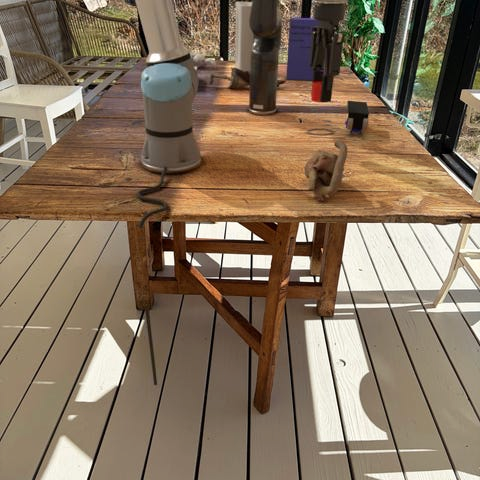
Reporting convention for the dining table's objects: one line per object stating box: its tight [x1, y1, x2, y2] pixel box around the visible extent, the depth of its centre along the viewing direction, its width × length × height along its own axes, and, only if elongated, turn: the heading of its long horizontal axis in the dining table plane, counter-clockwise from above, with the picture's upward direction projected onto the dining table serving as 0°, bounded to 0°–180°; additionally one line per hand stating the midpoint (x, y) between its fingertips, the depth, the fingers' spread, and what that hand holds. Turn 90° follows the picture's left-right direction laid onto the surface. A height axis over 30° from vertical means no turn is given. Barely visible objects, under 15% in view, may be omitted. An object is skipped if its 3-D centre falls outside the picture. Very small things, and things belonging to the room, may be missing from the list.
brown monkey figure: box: [303, 139, 349, 202], centre depth 108 cm, size 13×9×15 cm
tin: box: [310, 81, 322, 103], centre depth 126 cm, size 5×5×4 cm
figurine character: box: [344, 100, 370, 136], centre depth 146 cm, size 7×8×15 cm
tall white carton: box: [234, 1, 253, 72], centre depth 210 cm, size 19×15×28 cm
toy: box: [190, 50, 218, 68], centre depth 224 cm, size 24×25×7 cm
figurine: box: [209, 66, 287, 89], centre depth 190 cm, size 24×8×30 cm
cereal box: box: [285, 17, 325, 81], centre depth 201 cm, size 17×5×24 cm, turn 86°
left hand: (320, 98), depth 127 cm, fingers closed on tin, 5 cm apart
